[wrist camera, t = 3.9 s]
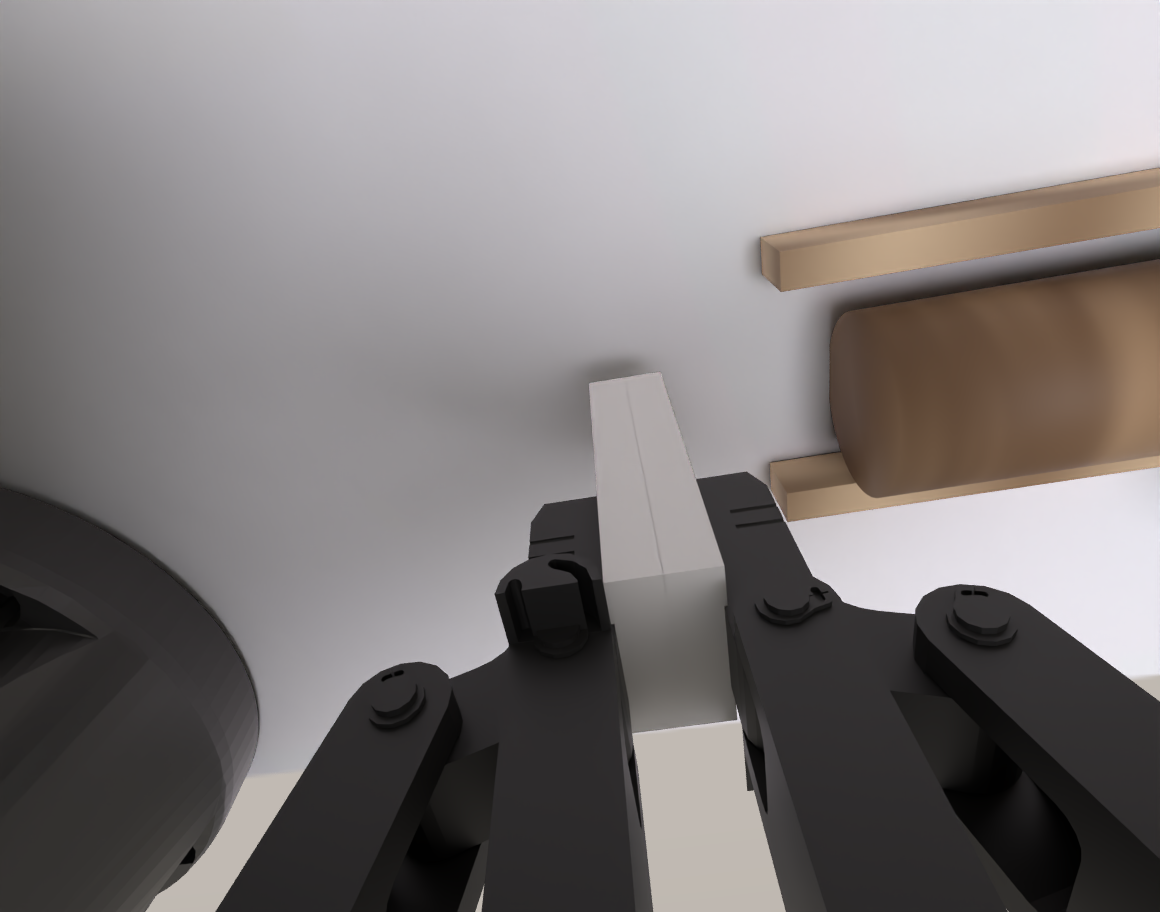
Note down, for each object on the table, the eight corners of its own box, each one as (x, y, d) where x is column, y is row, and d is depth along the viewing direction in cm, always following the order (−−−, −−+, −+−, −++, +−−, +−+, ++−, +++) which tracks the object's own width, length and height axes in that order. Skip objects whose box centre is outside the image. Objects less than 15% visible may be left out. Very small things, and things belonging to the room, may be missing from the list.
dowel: (824, 431, 17) (889, 537, 14) (832, 281, 15) (911, 367, 12) (1150, 379, 17) (1296, 477, 14) (1209, 217, 15) (1401, 287, 11)
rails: (770, 489, 18) (787, 522, 16) (760, 237, 15) (779, 252, 13) (1173, 428, 17) (1225, 456, 16) (1248, 152, 14) (1319, 158, 13)
